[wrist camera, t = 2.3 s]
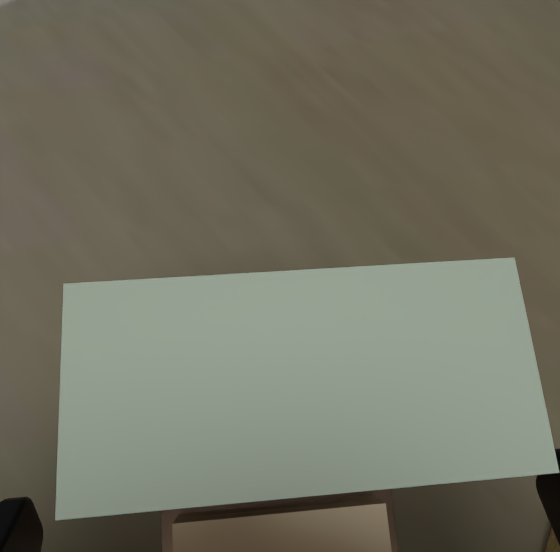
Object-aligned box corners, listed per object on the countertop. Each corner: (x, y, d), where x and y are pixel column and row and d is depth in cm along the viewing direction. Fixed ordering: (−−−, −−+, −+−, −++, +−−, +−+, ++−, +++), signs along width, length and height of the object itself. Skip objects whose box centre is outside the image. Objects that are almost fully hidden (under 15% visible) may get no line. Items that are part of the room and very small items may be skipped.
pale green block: (368, 436, 17) (559, 473, 7) (177, 453, 17) (54, 520, 6) (357, 349, 18) (514, 257, 7) (174, 362, 18) (63, 283, 7)
